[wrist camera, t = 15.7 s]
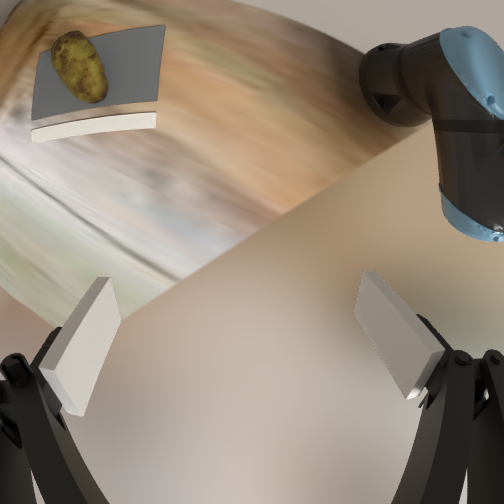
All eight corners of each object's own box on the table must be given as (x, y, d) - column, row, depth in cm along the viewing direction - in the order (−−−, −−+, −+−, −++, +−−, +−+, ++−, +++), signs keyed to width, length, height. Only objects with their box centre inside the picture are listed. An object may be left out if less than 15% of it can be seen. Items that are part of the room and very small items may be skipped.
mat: (165, 26, 30) (165, 25, 30) (157, 101, 35) (156, 100, 35) (41, 53, 28) (39, 53, 27) (33, 120, 33) (31, 120, 32)
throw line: (156, 112, 36) (155, 112, 35) (155, 128, 37) (155, 127, 36) (32, 130, 33) (31, 130, 33) (32, 143, 34) (31, 143, 34)
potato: (71, 117, 34) (44, 115, 26) (67, 50, 29) (42, 39, 21) (116, 99, 34) (93, 92, 26) (110, 31, 29) (90, 14, 21)
